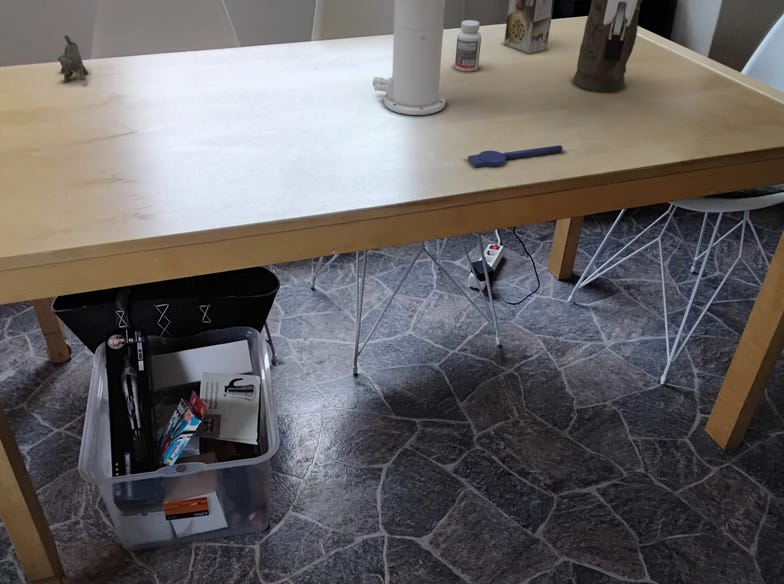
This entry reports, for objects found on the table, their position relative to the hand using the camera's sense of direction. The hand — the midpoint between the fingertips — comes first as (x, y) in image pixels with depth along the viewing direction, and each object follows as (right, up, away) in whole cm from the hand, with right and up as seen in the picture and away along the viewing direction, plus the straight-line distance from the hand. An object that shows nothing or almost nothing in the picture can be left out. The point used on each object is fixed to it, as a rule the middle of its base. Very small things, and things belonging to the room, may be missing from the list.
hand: (611, 59), depth 143 cm
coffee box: (-10, +18, +35) cm, 40 cm away
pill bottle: (-26, +8, +23) cm, 35 cm away
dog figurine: (-112, +2, +16) cm, 113 cm away
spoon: (-22, -23, -12) cm, 34 cm away
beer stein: (+3, 0, +15) cm, 15 cm away
